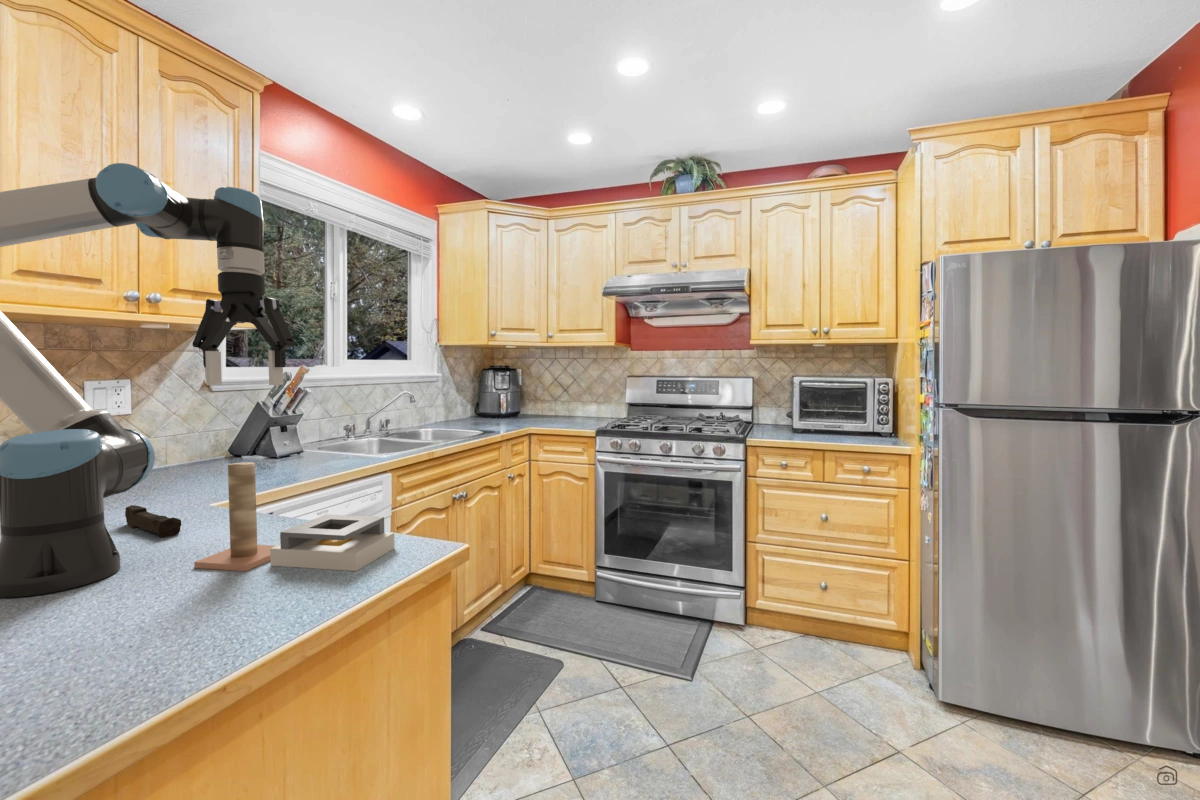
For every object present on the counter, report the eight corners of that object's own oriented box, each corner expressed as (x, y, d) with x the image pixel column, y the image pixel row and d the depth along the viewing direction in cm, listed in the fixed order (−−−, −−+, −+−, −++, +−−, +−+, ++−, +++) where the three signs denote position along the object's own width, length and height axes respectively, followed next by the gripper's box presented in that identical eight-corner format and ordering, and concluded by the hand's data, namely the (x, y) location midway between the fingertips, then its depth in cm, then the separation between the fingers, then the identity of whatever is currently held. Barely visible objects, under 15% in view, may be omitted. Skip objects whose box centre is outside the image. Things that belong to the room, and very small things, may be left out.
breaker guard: (270, 565, 93) (269, 531, 93) (317, 544, 105) (317, 513, 105) (356, 571, 91) (355, 536, 90) (394, 548, 102) (393, 517, 102)
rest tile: (194, 567, 92) (194, 561, 92) (242, 549, 102) (242, 543, 102) (246, 571, 91) (246, 565, 90) (289, 551, 100) (289, 546, 100)
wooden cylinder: (224, 556, 95) (221, 465, 94) (243, 549, 99) (240, 462, 98) (245, 558, 94) (242, 466, 93) (262, 550, 98) (260, 462, 97)
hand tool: (182, 535, 112) (182, 513, 112) (159, 540, 108) (158, 517, 108) (143, 522, 122) (143, 502, 121) (120, 526, 118) (120, 505, 118)
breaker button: (313, 560, 96) (313, 543, 96) (331, 551, 101) (331, 535, 101) (339, 561, 95) (338, 544, 95) (356, 552, 100) (356, 536, 100)
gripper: (166, 272, 102) (171, 385, 103) (285, 267, 98) (288, 385, 99) (202, 279, 110) (205, 384, 111) (313, 275, 106) (316, 384, 107)
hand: (244, 385), depth 105 cm, fingers open, 13 cm apart
